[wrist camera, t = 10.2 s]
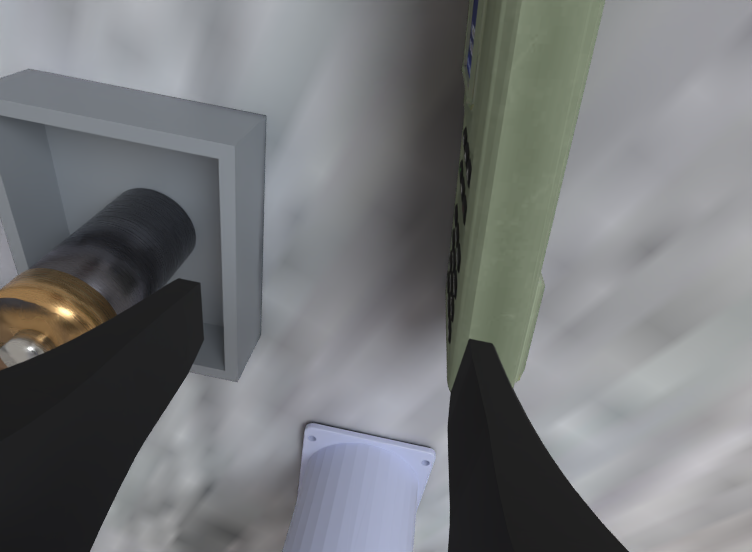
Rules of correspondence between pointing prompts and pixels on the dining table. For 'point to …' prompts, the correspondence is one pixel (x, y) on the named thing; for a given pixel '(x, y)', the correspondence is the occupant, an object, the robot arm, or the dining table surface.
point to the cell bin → (141, 170)
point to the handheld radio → (512, 166)
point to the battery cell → (95, 273)
